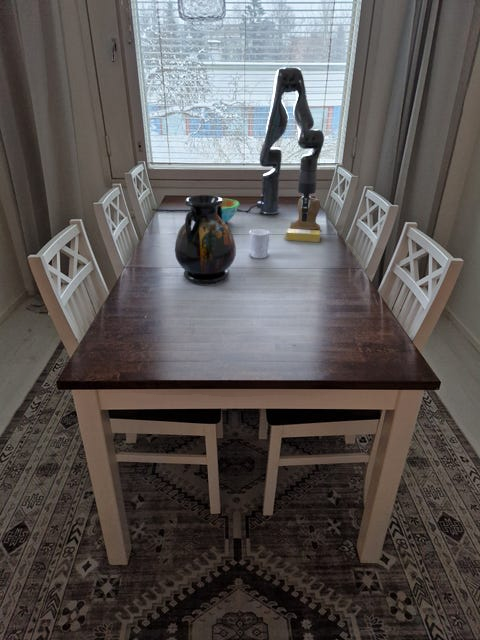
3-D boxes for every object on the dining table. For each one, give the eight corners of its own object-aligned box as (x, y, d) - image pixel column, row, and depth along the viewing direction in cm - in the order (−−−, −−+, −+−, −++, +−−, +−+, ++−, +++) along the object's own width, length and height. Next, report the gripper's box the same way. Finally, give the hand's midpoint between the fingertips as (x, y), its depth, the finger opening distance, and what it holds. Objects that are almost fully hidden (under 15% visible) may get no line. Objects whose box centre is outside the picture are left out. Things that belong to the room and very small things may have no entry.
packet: (285, 240, 186) (286, 232, 184) (286, 235, 191) (287, 228, 190) (319, 242, 184) (320, 234, 182) (319, 237, 189) (320, 230, 187)
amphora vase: (213, 294, 137) (211, 210, 123) (164, 280, 147) (157, 201, 133) (247, 273, 153) (248, 196, 139) (200, 261, 163) (197, 189, 149)
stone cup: (316, 225, 207) (319, 194, 199) (321, 232, 196) (325, 200, 189) (287, 225, 206) (288, 194, 199) (290, 232, 196) (292, 200, 189)
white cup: (270, 253, 171) (271, 230, 166) (265, 260, 164) (266, 235, 159) (252, 251, 173) (253, 228, 168) (246, 257, 167) (247, 233, 162)
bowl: (187, 226, 204) (186, 205, 199) (207, 215, 222) (206, 196, 217) (228, 231, 197) (228, 210, 192) (245, 219, 215) (246, 200, 210)
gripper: (299, 177, 182) (296, 214, 190) (297, 184, 169) (295, 222, 177) (316, 178, 181) (313, 215, 189) (316, 184, 168) (312, 223, 176)
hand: (304, 218), depth 183 cm, fingers open, 8 cm apart
